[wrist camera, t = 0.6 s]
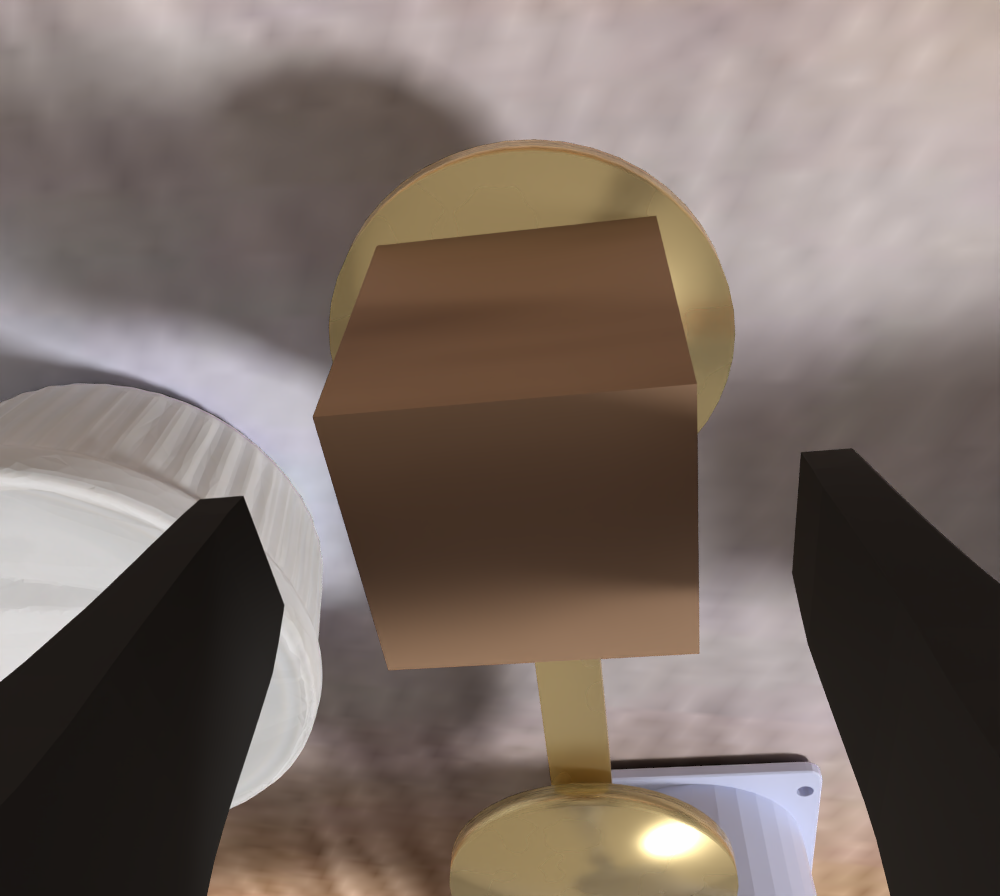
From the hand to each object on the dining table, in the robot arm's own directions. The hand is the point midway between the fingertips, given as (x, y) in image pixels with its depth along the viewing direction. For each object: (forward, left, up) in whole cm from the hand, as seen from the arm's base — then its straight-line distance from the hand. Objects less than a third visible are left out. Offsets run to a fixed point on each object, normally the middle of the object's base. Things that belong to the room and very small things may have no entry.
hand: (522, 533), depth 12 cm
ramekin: (-7, +11, -9) cm, 16 cm away
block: (0, 0, -5) cm, 5 cm away
